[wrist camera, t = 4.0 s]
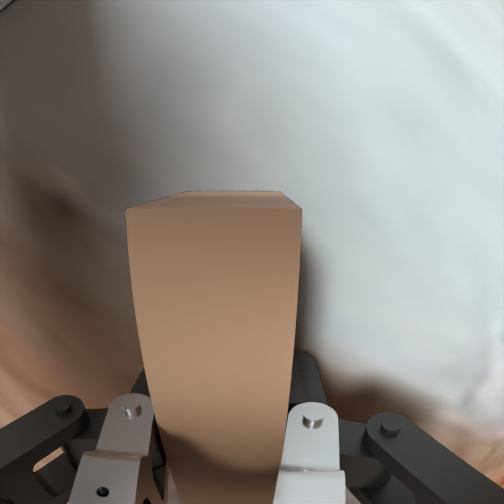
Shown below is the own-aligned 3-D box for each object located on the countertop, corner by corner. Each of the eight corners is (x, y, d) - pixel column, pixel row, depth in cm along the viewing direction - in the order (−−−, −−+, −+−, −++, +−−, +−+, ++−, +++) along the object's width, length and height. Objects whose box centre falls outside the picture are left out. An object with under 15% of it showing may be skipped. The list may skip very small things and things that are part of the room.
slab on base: (53, 198, 10) (-70, 227, 4) (430, 200, 10) (555, 234, 4) (113, 451, 13) (77, 531, 8) (367, 460, 13) (393, 547, 7)
